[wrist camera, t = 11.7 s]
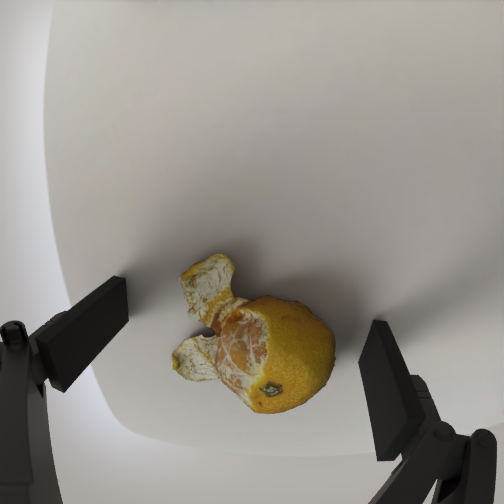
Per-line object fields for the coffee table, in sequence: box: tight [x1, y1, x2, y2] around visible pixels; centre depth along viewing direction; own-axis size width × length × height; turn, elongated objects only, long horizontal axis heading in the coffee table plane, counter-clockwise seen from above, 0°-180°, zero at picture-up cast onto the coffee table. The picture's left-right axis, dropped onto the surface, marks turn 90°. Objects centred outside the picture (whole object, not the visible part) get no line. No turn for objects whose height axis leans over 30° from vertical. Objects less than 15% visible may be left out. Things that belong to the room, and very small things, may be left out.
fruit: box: [172, 254, 336, 414], centre depth 13 cm, size 8×8×4 cm
